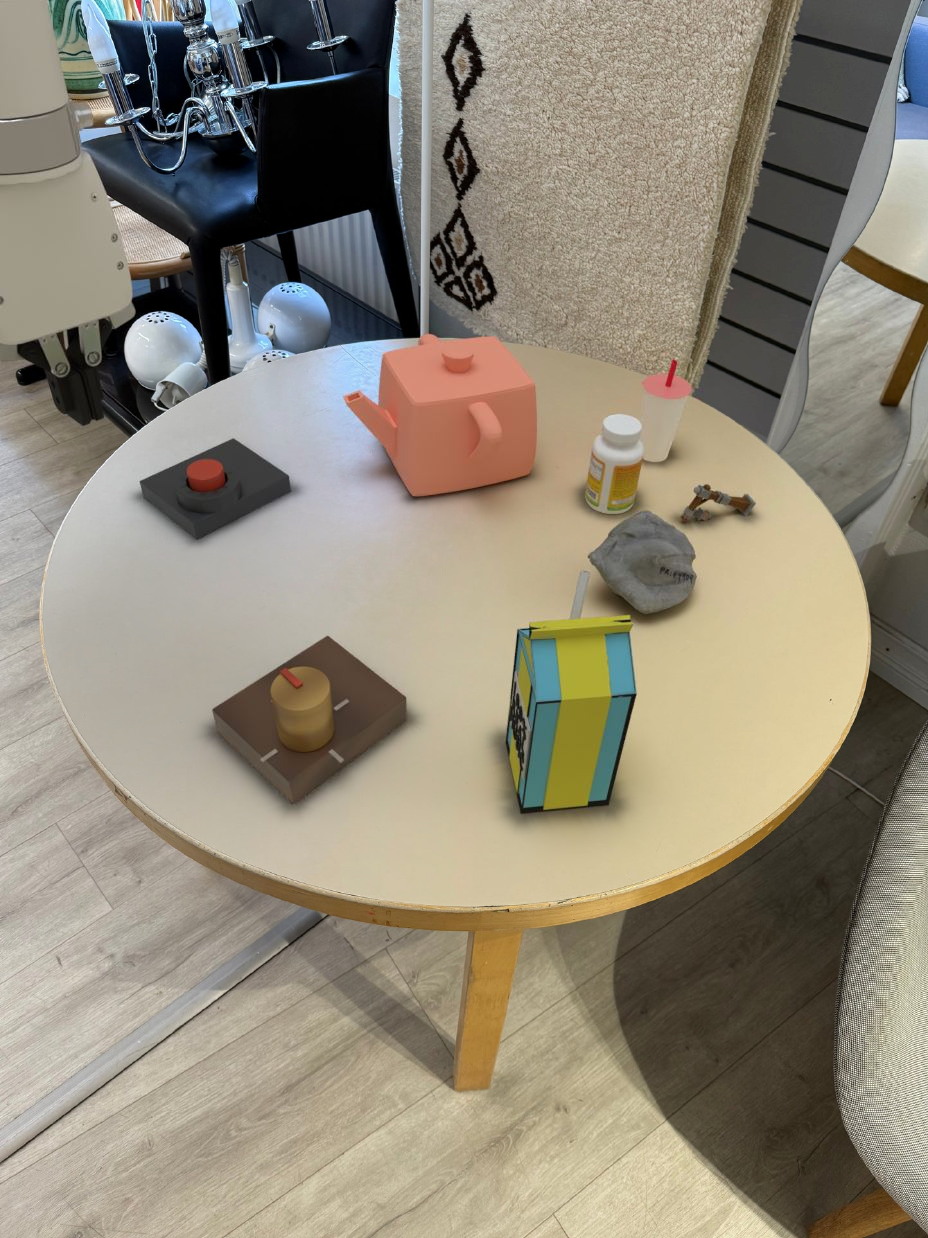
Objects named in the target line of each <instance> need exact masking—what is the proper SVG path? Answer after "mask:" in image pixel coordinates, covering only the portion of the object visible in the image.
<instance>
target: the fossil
mask: <svg viewBox="0 0 928 1238" xmlns="http://www.w3.org/2000/svg"><path fill="white" fill-rule="evenodd" d="M696 555H697V554H696V551H695V548H694V546H693V544H692V542H691V541H689V538H688V537H687V535H686V534H685V532H682V531H681V530H680V529H678V528H676V526H675V525H673V524H671V523H668V522H667V521H665V520H664V519H662V517H660V516H659V515H657V514H656V513H653V512H652V511H650V510H641V511H638V512H637V513H635V514H633V515H632V516H630V517H628V518H626V519H623V520H622V521H621V522H619V523H618V524H617V525H616V526H614V527H613V528H612V529H611V530H610V531H609V532H608V534H607V537H606V538H605V539H604V541H603V542H602V543H600V545H598V547H596V548H595V549H594V550H592V551H591V552H589V554H587V558H588V559H589V562H590V564H591V565H592V566H594V567H595V569H596V570H597V572H598V573H599V575H600V576H601V578H602V579H603V581H604V582H605V583H606V584H607V586H608V587H610V590H611V591H612V593H613V594H615V595H617V596H620V597H622V598H623V599H624V600H625V601H626V602H627V603H628V604H629V605H630V606H631V607H633V608H634V609H635V610H637V611H638V612H640V613H642V614H645V615H648V614H654V613H658V612H660V611H663V610H668V609H670V608H672V607H674V606H676V605H680V603H682V602H683V601H685V600H686V599H687V598H688V597H689V596H690V594H691V593H692V591H693V590H694V588H695V585H696V581H697V578H698V576H697V573H696V572H695V571H694V569H693V562H694V561H695V559H697V556H696Z"/></svg>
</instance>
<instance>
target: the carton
mask: <svg viewBox="0 0 928 1238" xmlns="http://www.w3.org/2000/svg"><path fill="white" fill-rule="evenodd" d="M590 578H591V572H590V571H586V570H580V571H579V575H578V580H577V584H576V588H575V592H574V597H573V602H572V607H571V611H570V616H569V619H556V620H542V621H529V622H528V623H529V625H528V626H529V627H525V628H516V629H517V630H516V639H515V649H514V657H513V667H512V678H511V686H510V697H509V705H508V706H509V707H508V713H507V724H506V735H505V747H506V751H507V756H508V761H509V767H510V770H511V775H512V779H513V784H514V788H515V794H516V799H517V803H518V808H519V812H520V813H519V814H520V815H523V814H534V813H544V812H545V813H546V812H557V811H565V810H574V809H586V808H595V807H605V806H610V802H611V798H612V793H613V789H614V785H615V781H616V778H617V774H618V770H619V765H620V762H621V757H622V753H623V749H624V746H625V743H626V738H627V733H628V730H629V727H630V722H631V719H632V715H633V710H634V706H635V702H636V699H637V695H638V693H637V685H636V683H637V682H636V675H635V665H634V657H633V648H632V641H631V640H632V639H631V630H632V629H633V626H634V623H633V622H632V619H631V614H626V615H625V614H624V615H613V616H612V615H610V616H598V617H596V616H595V617H583V618H582V612H583V608H584V603H585V599H586V595H587V590H588V586H589V580H590Z"/></svg>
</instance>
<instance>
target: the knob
mask: <svg viewBox="0 0 928 1238" xmlns="http://www.w3.org/2000/svg"><path fill="white" fill-rule="evenodd" d="M271 698H272V703H273V709H274V715H275V720H276V726H277V732H278V737H279V739H280V741H281V743H282V744H283V745H284V746H286V747H287V748H289V749H291V750H293V751H297V752H310V751H314V750H317V749H319V748H321V747H323V746H324V745H326V744H327V743H328V742H329V741H330V739H331V738H332V736H333V734H334V728H335V727H334V718H333V708H332V699H331V690H330V682H329V680H328V678H327V677H326V675H325V674H324V673H322V672H321V671H319V670H317V669H315V668H311V667H295V668H291V669H286V668H285V669H283V670H281V671H280V675H279V676H277V678H276V679H275V680H274V681H273V683H272V686H271Z"/></svg>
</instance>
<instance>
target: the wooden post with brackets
mask: <svg viewBox="0 0 928 1238" xmlns="http://www.w3.org/2000/svg"><path fill="white" fill-rule="evenodd" d="M693 493H694V494H695V497H694V498H693V499H692V501H691V502H690V504H689V505H688V506H686V507H685V508H684V510H683V513H682V515H681V516H680V519H681V521H683V522H688V520H689V519H690V518H691V517H692V516H694V517H695V518H696V519H697V520H698V521H701V520H703V521H704V522H707V521H708V520H709V519H711V518H712V514H711V513H710V511H709V510H708V509H702V507H700V506H701V505H703V504H705V503H706V502H708V501H713V502H714V503H715V504H718V505H722V506H725V507H728V506H731V507H732V508H735V509H738V511H739V512H740V513H741V514H742V515H743V516H746V517H747V516H749V514H750V512H751V511H752V510H753V509H754V507H755V506H756V504H757V503H756V501H755V500H754V499H753V498H752V497H751V495H750V494H748V493H744V494H743V495H742V496H731V495H729V494H728V493H724V492H721V491H719V490H712V487H711V485H710V484H708V483H704V485H701V484H698V485H697V486H695V487H694V488H693ZM697 508H698V509H697Z"/></svg>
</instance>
